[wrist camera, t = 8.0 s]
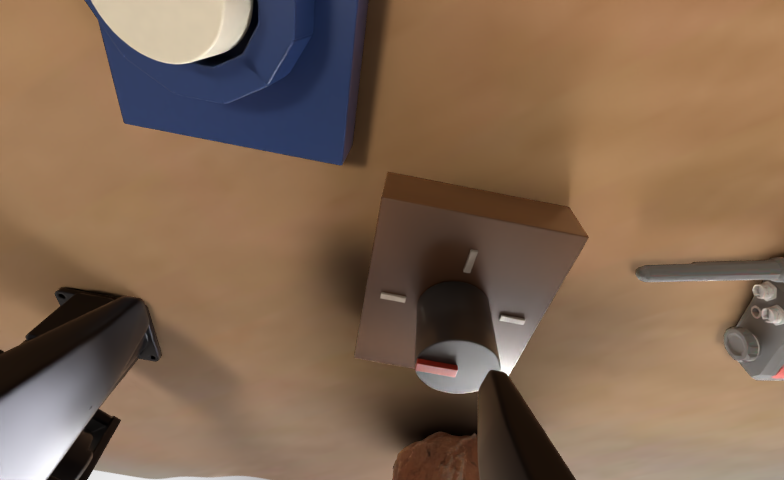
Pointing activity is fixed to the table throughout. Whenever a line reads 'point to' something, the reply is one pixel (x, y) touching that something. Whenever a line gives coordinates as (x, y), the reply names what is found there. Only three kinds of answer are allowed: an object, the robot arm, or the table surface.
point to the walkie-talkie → (760, 320)
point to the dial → (455, 338)
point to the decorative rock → (439, 459)
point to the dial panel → (462, 262)
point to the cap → (178, 26)
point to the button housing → (257, 82)
